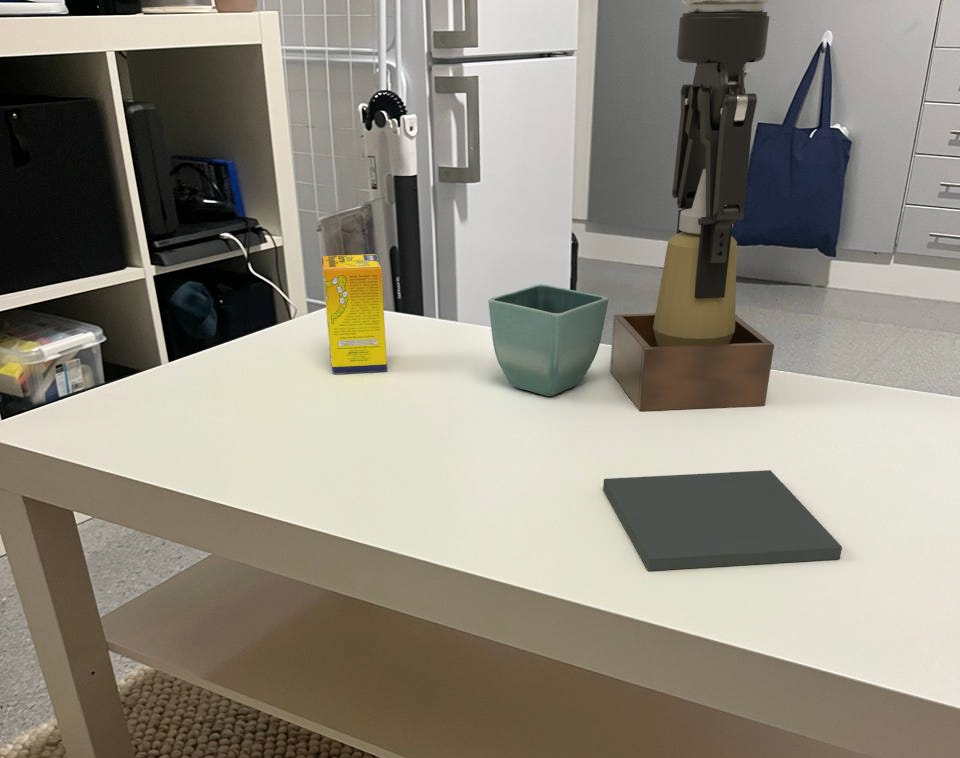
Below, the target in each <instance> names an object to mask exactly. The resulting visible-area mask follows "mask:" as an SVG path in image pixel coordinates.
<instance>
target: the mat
mask: <svg viewBox="0 0 960 758" xmlns="http://www.w3.org/2000/svg"><path fill="white" fill-rule="evenodd" d="M602 485H603V486H602V490H603V492H604V494H605V495H606V497H607V499H608V501H609V503H610V505H611V506H612V508H613V510H614V512H615V514H616V515H617V517H618V519H619V522H620V523H621V525H622V526H623V528H624V530H625V532H626V533H627V536H628V537H629V539H630V541H631V542H632V544H633V546H634V548H635V550H636V551H637V553H638V555H639V556H640V559H641V560H642V563H643V564H644V566H645V568H646V570H647V571H648V572H653V571H670V570H685V569H686V570H687V569H703V568H717V567H718V568H719V567H732V566H733V567H735V566H736V567H737V566H750V565H751V566H752V565H768V564H769V565H770V564H781V563H782V564H783V563H797V562H798V563H800V562H814V561H833V560H840V559H841V556H842V551H843V546H842V545H841V543H840V542H839V541H838V540H837V539H835V538H834V536H833V535H832V534H831V533H830V532H829V531H828V530H827V528H825V527H824V526H823V525H822V524H821V523H820V521H819V520H818V519H817V518H816V517H815V516H814V515H813V514H812V513H811V512H810V511H809V510H808V508H807V507H806V506H804V504H803V503H802V502H801V501H800V500H799V499H798V497H796V496H795V495H794V494H793V493H792V491H791V490H790V489H789V488H788V487H787V486H786V485H785V484H784V482H782V481H781V480H780V479H779V477H777V476H776V474H775V473H774V472H773V471H772V470H771V469H768V470H767V469H766V470H765V469H763V470H749V471H748V470H745V471H728V472H727V471H726V472H707V473H706V472H705V473H688V474H670V475H651V476H650V475H649V476H635V477H634V476H632V477H631V476H630V477H629V476H628V477H612V478H604V479H603V484H602Z"/></svg>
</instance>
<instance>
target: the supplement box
mask: <svg viewBox="0 0 960 758" xmlns="http://www.w3.org/2000/svg"><path fill="white" fill-rule="evenodd" d="M321 266H322V268H321V269H322V278H323V279H322V280H323V289H324V299H325V302H324V303H325V310H326V311H325V312H326V321H327V334H328V343H329V344H328V345H329V346H328V347H329V356H330V361H331V370H332V371H331V372H332V374H333V375H345V374H346V375H347V374H363V373H365V374H366V373H379V372H387V371H388V361H387V346H386V345H387V344H386V340H387V339H386V326H385V325H386V324H385V311H384V310H385V307H384V305H385V304H384V285H383V267H382V266H381V264H380V261H379V256H378V255H377V254H376V253H368V254H346V255H345V254H344V255H343V254H342V255H341V254H340V255H326V256H325V255H323V256H322V257H321Z"/></svg>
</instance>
